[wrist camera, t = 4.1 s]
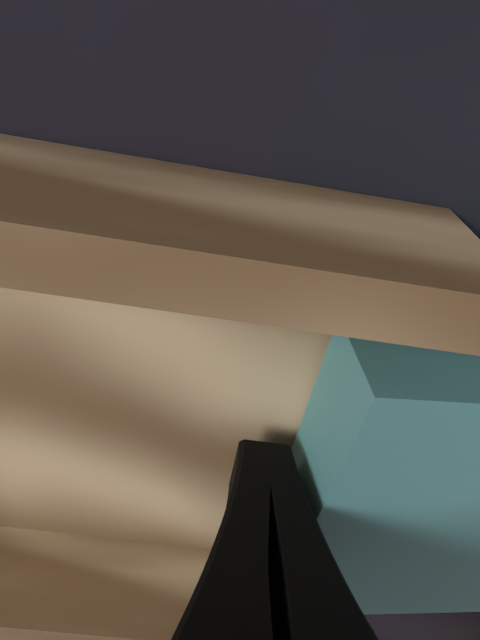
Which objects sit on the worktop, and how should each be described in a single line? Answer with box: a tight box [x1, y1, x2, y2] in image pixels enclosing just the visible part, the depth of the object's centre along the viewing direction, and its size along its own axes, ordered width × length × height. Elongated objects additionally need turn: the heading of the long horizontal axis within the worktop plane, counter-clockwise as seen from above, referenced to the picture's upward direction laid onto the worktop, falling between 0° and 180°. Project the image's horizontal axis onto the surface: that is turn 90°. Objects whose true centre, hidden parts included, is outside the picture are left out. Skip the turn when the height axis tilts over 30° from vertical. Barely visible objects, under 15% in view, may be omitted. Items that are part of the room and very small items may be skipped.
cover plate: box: [291, 335, 480, 614], centre depth 12 cm, size 9×8×2 cm
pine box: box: [0, 134, 480, 640], centre depth 11 cm, size 14×14×4 cm
